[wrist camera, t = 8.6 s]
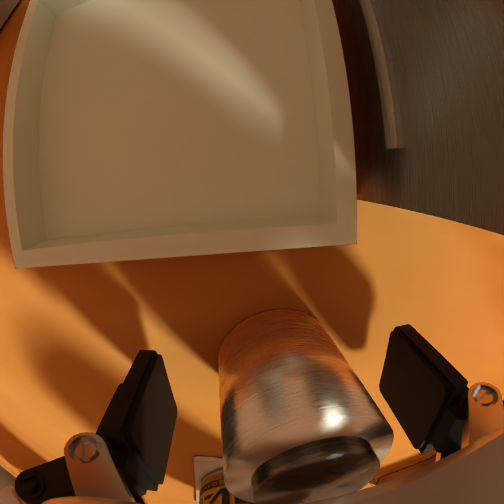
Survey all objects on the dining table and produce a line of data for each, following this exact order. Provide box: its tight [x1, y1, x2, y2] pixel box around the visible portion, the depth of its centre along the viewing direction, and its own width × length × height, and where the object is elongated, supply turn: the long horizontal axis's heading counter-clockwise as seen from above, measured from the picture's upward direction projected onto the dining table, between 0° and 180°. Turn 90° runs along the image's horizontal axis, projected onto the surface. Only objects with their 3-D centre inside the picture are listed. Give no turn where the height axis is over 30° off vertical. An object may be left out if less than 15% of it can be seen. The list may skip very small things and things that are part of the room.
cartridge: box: [218, 309, 394, 504], centre depth 8 cm, size 4×4×6 cm
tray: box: [3, 0, 357, 269], centre depth 7 cm, size 11×11×2 cm
